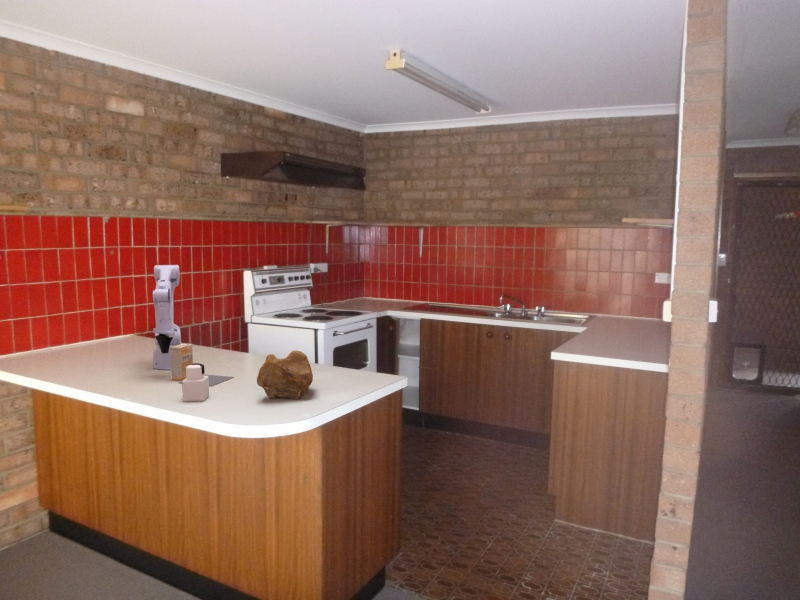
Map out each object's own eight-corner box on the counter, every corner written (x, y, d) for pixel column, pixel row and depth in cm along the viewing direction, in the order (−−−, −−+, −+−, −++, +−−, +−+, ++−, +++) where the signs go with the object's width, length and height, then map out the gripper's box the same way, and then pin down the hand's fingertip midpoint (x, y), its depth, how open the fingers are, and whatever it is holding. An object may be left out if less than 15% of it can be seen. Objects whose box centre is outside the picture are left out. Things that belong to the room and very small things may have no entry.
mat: (178, 383, 221) (178, 382, 221) (201, 374, 234) (201, 374, 234) (211, 386, 217) (212, 385, 217) (233, 377, 230) (233, 377, 230)
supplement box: (182, 381, 224) (181, 347, 223) (171, 380, 225) (169, 347, 224) (194, 375, 232) (192, 343, 231) (183, 375, 233) (181, 343, 232)
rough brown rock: (288, 409, 191) (291, 365, 189) (249, 398, 199) (252, 355, 197) (328, 394, 212) (331, 354, 210) (291, 385, 219) (294, 346, 217)
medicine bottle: (188, 395, 204) (187, 362, 203) (209, 395, 205) (208, 361, 203) (182, 401, 197) (181, 366, 196) (204, 401, 198) (203, 366, 196)
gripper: (181, 319, 227) (183, 354, 228) (164, 316, 237) (166, 349, 238) (164, 321, 222) (165, 356, 223) (147, 317, 231) (149, 351, 233)
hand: (164, 353), depth 230 cm, fingers closed
